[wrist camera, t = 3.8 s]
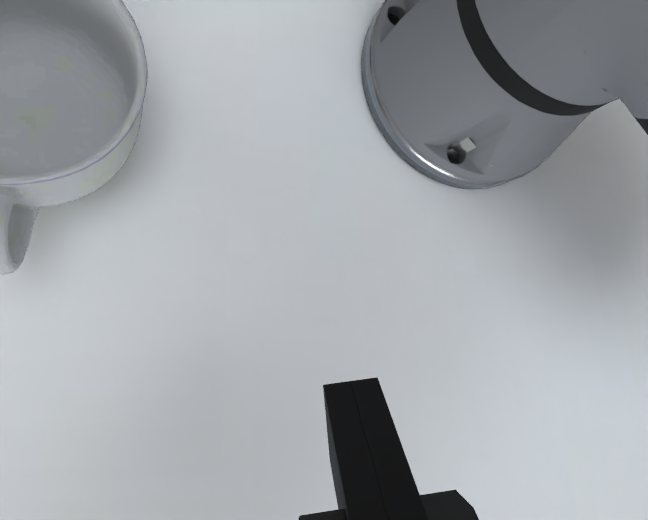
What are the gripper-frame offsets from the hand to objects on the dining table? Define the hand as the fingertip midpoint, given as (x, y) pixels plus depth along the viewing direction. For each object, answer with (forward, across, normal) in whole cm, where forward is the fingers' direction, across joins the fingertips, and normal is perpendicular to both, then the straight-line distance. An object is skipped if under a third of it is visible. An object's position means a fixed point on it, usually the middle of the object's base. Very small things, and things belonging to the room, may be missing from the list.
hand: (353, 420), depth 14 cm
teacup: (+18, +14, -5) cm, 23 cm away
